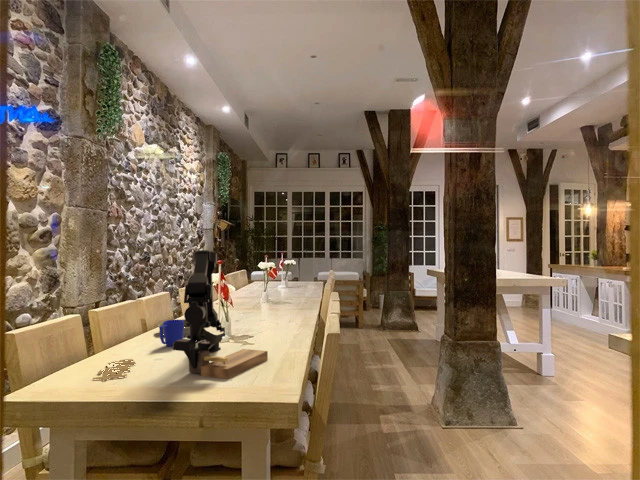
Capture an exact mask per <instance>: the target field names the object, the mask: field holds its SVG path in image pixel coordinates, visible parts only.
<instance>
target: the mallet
mask: <svg viewBox="0 0 640 480" xmlns="http://www.w3.org/2000/svg"><path fill="white" fill-rule="evenodd" d="M213 361H215V362H223V363H224V364H225V362H227V361H228V358H227V357H225V356H215V355H210V352H209V351H207V350H199V352H198V358H197V368H196V369H194V368H193V367H192V365H191V363H190V361H189V360H188V373H191V374H200V375H201V366H203V365H205V364H208V363H210V362H213Z"/></svg>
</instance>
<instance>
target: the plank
mask: <svg viewBox="0 0 640 480" xmlns="http://www.w3.org/2000/svg"><path fill="white" fill-rule="evenodd" d="M224 357H227V358H228V361H227V362H225V364H224V363H223V362H215V361H209V363H208V364H205V365H203V366H201V374H200V376H202V377H210V378H218V379H226V380H229V379H231V378H233V377H234V376H236V375H238V374H241V373H243V372H245V371H247V370H249V369H251V368H253V367H255V366H257V365H258V364H261V363H263V362H265V361H267V360H268V357H269V355H268V350H260V349H249V348H248V349H247V348H242V349H240V350H238V351H235V352H232V353H230V354H227V355H225V356H224Z"/></svg>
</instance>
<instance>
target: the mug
mask: <svg viewBox="0 0 640 480" xmlns="http://www.w3.org/2000/svg"><path fill="white" fill-rule="evenodd" d="M162 323H163V324H164V325H163V326H160V327H158V328H159V329H158V330H159V337H160V341H161V343H162V344H163V345H166V346H168V347H173V343H174V342H175V341H177V340H180V339H184V336H183V329H184V320H182V319H168V320H165V321H162ZM163 327H164V335H163Z"/></svg>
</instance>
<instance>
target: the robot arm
mask: <svg viewBox="0 0 640 480" xmlns="http://www.w3.org/2000/svg"><path fill="white" fill-rule="evenodd" d="M192 263H193V264H194V268H193V273H192V275H191V276H190V277H189V278H188V280H187V284H185V287H184V297H183V298H184V300H183V303H184V304H188V307H187V308H186V309H185V311H184V319H185V320H186V321H187V322H188V323H187V326H189V329H190V335H187V336H186V338H183V339H180V340H177V341H175V342H174V343H173V346H172V351H178V352H180V351H181V352H183V353H184V355H186V358H187V359H188V362H189V361H190V363H191V365H192V367H193V368H194V369H196V368H197V358H198V352H199V350H207V351H209V353H214V352H216V351H219V350H221V346H220V343H222V340H223V337H226V330H225V329H226V328H225V326H224V325H222V322H221V320H220V319H219V316H218V313H217V311H216V310H215V309H214V293H213V291H214V289H213V273H214V270H215V268H216V266H217V265H216V264H218V254H217V252H214V251H213V250H212V251H211V250H208V249H203V250H202V249H201V250H200V249H199V250H196V251H195V252H193V253H192Z"/></svg>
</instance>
